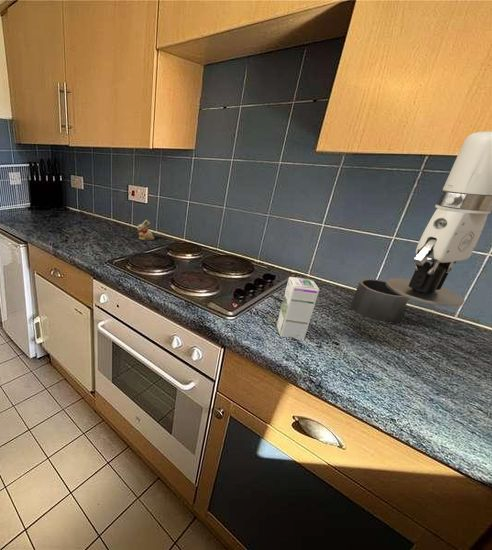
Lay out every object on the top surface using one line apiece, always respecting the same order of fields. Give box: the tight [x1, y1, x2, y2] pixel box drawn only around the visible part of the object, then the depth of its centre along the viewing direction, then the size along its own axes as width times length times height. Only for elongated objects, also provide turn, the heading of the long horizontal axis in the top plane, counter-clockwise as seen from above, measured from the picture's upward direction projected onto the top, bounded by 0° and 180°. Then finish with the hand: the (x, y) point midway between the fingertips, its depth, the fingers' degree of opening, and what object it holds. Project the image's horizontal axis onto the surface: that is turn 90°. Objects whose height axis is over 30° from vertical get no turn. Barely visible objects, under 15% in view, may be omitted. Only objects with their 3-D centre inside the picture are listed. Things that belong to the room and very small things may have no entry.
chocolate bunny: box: [136, 219, 155, 241], centre depth 148 cm, size 6×8×10 cm
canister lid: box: [385, 263, 465, 308], centre depth 64 cm, size 13×13×7 cm
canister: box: [349, 278, 410, 324], centre depth 87 cm, size 11×11×8 cm
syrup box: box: [276, 276, 320, 340], centre depth 74 cm, size 6×6×14 cm
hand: (424, 287), depth 65 cm, fingers closed on canister lid, 3 cm apart
